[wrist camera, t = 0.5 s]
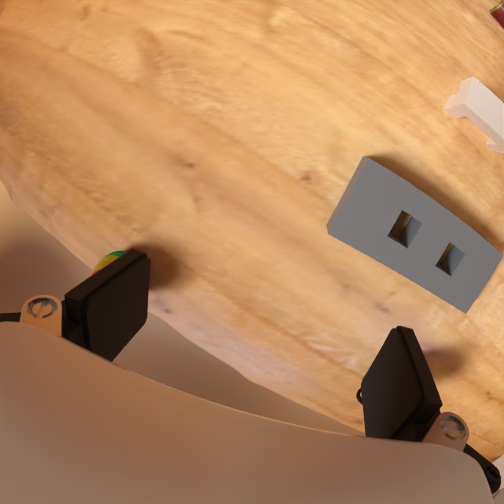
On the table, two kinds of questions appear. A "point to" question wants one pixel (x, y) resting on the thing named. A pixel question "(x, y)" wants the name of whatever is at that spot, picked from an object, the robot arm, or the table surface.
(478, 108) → the two-legged white block
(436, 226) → the gray rectangular slab
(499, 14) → the hardcover book
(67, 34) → the table surface
